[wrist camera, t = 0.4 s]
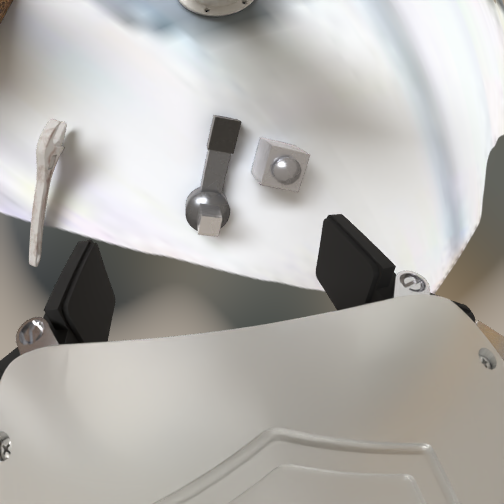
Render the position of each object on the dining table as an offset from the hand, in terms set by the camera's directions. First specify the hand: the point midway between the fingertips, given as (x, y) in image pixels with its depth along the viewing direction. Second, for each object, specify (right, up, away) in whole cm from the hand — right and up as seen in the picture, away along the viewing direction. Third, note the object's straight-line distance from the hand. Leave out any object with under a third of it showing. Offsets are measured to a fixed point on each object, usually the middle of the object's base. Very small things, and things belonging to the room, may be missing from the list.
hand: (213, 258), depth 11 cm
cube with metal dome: (+5, +15, +32) cm, 36 cm away
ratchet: (-5, +13, +32) cm, 35 cm away
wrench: (-34, +10, +26) cm, 44 cm away
